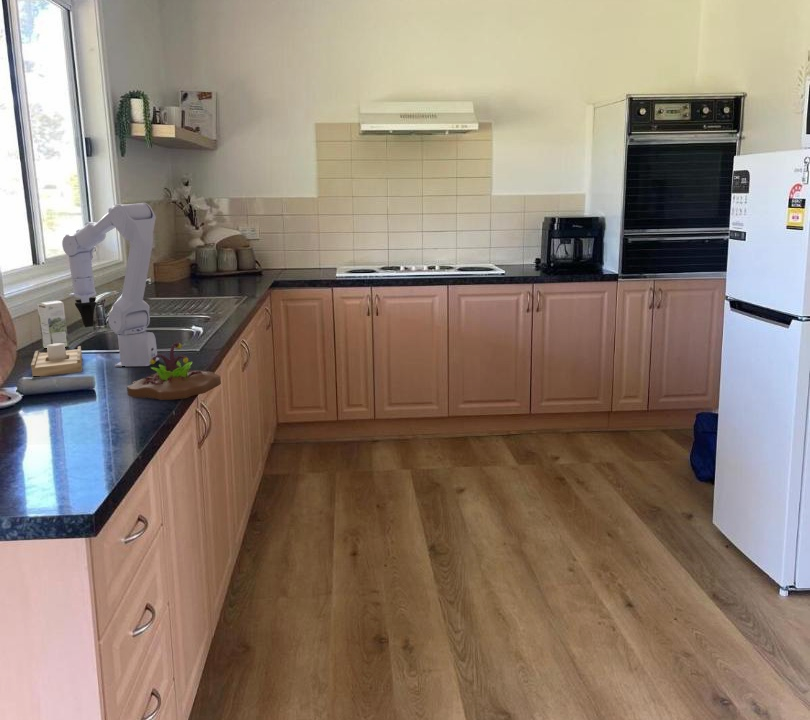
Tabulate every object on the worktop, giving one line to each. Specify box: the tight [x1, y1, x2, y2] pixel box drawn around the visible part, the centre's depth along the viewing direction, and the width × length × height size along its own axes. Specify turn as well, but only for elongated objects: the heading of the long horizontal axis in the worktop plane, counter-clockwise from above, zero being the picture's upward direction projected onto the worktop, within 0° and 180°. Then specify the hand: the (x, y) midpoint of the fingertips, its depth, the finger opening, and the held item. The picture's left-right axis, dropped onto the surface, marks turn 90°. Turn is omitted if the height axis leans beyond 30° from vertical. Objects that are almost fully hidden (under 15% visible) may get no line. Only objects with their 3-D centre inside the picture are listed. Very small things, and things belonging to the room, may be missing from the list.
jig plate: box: [30, 345, 83, 377], centre depth 213 cm, size 20×12×3 cm, turn 22°
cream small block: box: [46, 343, 67, 361], centre depth 212 cm, size 5×5×6 cm
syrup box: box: [36, 300, 70, 349], centre depth 238 cm, size 6×6×14 cm
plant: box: [126, 341, 222, 401], centre depth 184 cm, size 20×20×11 cm
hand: (88, 324), depth 220 cm, fingers open, 7 cm apart
